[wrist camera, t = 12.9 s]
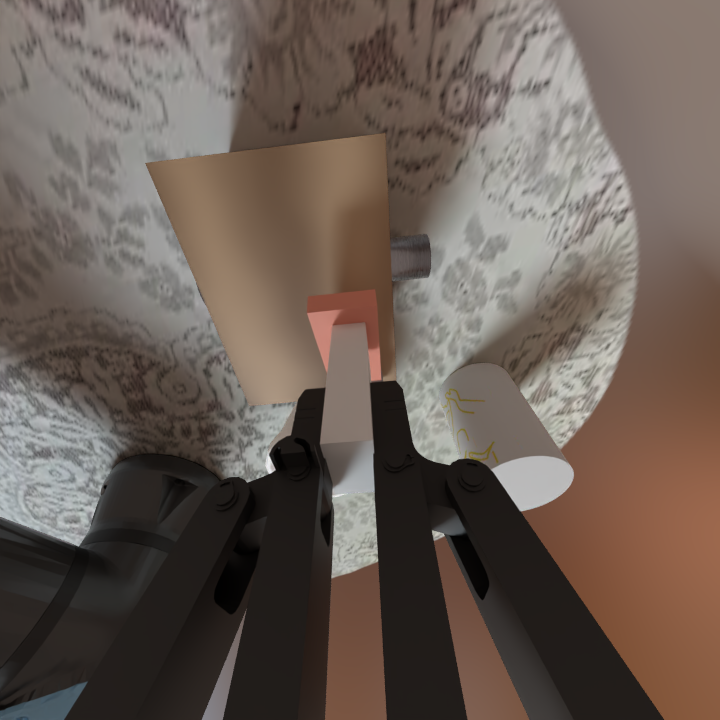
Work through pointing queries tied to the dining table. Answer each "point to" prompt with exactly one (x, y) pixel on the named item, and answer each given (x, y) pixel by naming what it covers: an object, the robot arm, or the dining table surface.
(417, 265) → the hitch pin
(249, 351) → the block
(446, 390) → the cup
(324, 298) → the keeper tab
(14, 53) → the dining table surface
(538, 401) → the dining table surface
